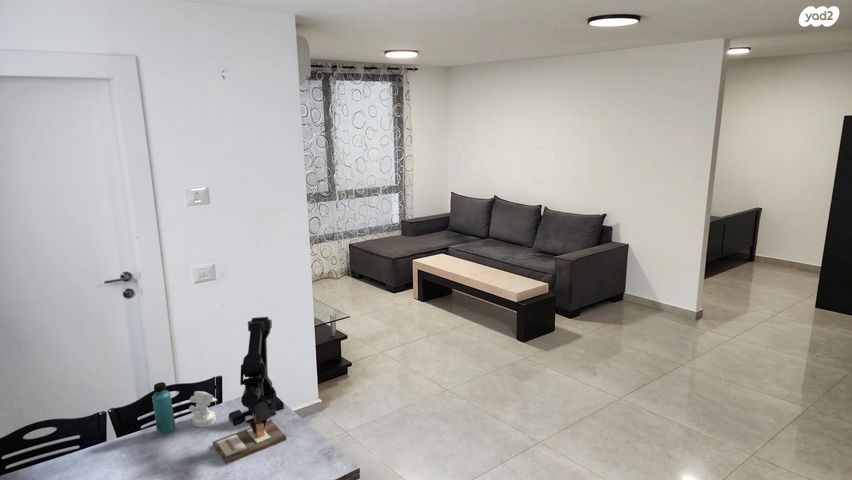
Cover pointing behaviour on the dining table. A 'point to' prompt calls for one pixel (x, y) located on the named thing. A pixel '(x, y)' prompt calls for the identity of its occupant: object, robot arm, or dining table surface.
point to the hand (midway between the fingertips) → (258, 431)
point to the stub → (258, 432)
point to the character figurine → (202, 409)
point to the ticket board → (246, 443)
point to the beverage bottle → (163, 408)
